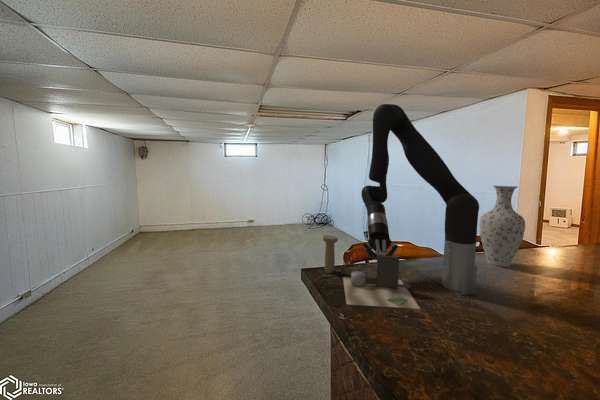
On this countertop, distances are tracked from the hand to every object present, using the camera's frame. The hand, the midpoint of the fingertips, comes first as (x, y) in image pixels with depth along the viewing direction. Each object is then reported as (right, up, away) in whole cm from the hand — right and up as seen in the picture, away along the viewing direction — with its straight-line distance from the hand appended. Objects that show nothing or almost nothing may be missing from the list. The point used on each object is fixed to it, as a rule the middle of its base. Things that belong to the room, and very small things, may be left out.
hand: (382, 269), depth 93 cm
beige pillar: (-17, -6, +13) cm, 22 cm away
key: (-1, -5, -1) cm, 6 cm away
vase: (+60, -5, +27) cm, 66 cm away
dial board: (-3, -7, -4) cm, 9 cm away
